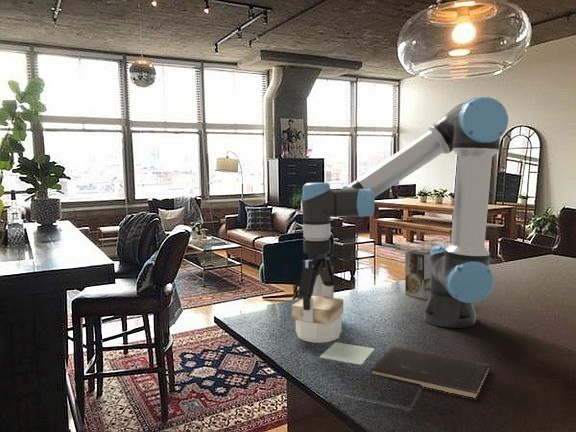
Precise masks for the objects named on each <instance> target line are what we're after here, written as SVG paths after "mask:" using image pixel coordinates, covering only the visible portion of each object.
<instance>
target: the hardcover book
mask: <svg viewBox="0 0 576 432" xmlns="http://www.w3.org/2000/svg"><path fill="white" fill-rule="evenodd" d="M369 370H370V371H371V374H372V375H376V376H382V377H386V378H392V379H393V380H394V379H395V380H399V381H405V382H408V383H412V384H418V385H419V387H420V386H423V387H422V388H424V387H427V388H426V389H428V387H429V388H433V389H437V390H442V391H445V392H444V393H446V392H449V393H448V394H450V393H455V394H459V395H464V396H469V397H473V398H476V396H477V397H478V395H479V393H480V391H481V389H480V388H482V387H481V385H482V386H483V384H484V382H485V380H486V378H485V377H487V376H486V375H488V373H489V371H488V370H491V365H490V364H488V363H484V362H478V361H472V360H468V359H464V358H463V359H462V358H455V357H451V356H446V355H440V354H436V353H430V352H425V351H419V350H415V349H414V350H413V349H409V348H403V347H397V346H392V347H391V348H390V349H389V350H388V351H387V352H386V353H385V354H384V355H383V356H382V357H381V358H380V359H379V360H378V361H377V362H376V363H375V364H374V365H373V366H372V367H371V368H370V369H369ZM487 372H488V373H487ZM484 379H485V380H484ZM483 381H484V382H483ZM482 383H483V384H482ZM437 390H436V391H437ZM479 390H480V391H479ZM478 392H479V393H478ZM455 394H454V395H455ZM477 394H478V395H477ZM459 395H458V396H459ZM464 396H463V397H464ZM476 399H477V398H476Z"/></svg>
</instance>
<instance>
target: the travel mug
mask: <svg viewBox="0 0 576 432" xmlns="http://www.w3.org/2000/svg"><path fill="white" fill-rule="evenodd" d="M333 259H335V255H334V254H332V255H331V263H332V268H333V269H334V260H333ZM323 285H324V284H323V282H322V279H321V277H320V274H319V275H318V276H317V277H316V281H315V285H314V289H313V296H319V297H322V286H323ZM324 286H325V285H324ZM331 287H332V298H335V295H334V286H331Z"/></svg>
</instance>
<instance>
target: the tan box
mask: <svg viewBox="0 0 576 432" xmlns="http://www.w3.org/2000/svg"><path fill="white" fill-rule="evenodd" d="M312 298H313V317H314V321H313V323H320V324H327V325H329V324H330V323H331V322H333V321H334V320H335V319H336V318H338V317H339V316H340V315H341V316H342V315H343V314H344V299H343V298H337V297H334V298H328V297H319V296H314V295H312ZM290 307H291V320H299V321H303V298H301V299H299V300H298V301H297V302H295V303H293V304H291V306H290ZM306 322H308V321H306Z"/></svg>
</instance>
